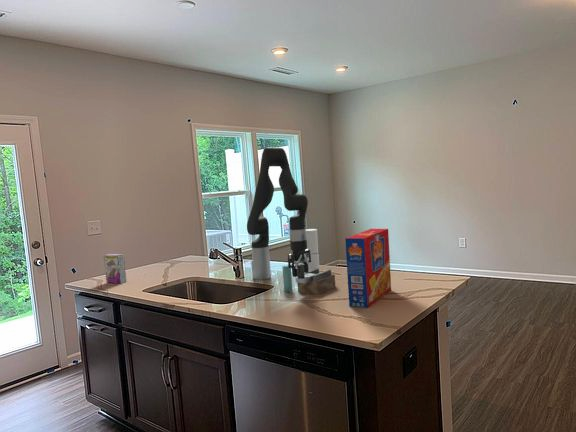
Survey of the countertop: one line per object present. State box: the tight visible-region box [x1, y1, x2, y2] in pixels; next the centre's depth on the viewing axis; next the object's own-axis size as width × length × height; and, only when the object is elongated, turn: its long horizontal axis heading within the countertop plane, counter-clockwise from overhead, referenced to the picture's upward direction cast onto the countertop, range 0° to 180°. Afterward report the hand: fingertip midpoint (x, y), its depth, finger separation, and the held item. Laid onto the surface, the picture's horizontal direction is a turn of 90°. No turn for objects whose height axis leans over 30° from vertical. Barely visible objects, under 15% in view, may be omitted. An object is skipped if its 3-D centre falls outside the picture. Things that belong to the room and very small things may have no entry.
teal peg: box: [281, 264, 293, 293], centre depth 210 cm, size 4×4×12 cm
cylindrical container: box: [305, 228, 321, 273], centre depth 237 cm, size 7×7×25 cm
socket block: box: [296, 269, 336, 295], centre depth 210 cm, size 12×14×8 cm
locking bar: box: [295, 263, 316, 283], centre depth 203 cm, size 5×11×8 cm, turn 142°
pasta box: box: [344, 228, 392, 309], centre depth 188 cm, size 28×8×28 cm, turn 148°
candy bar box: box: [103, 253, 127, 285], centre depth 255 cm, size 11×5×16 cm, turn 65°
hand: (300, 274), depth 200 cm, fingers open, 8 cm apart
